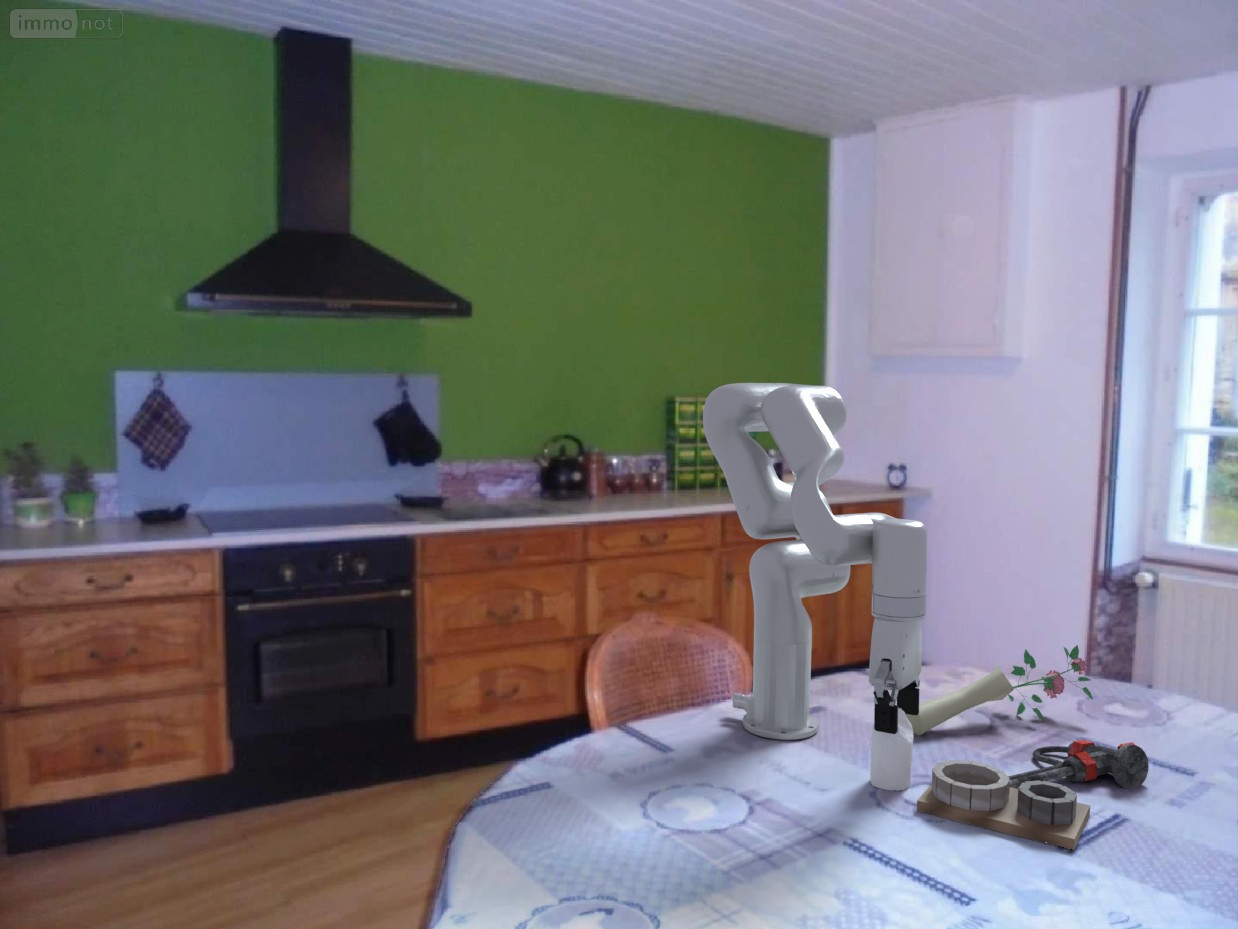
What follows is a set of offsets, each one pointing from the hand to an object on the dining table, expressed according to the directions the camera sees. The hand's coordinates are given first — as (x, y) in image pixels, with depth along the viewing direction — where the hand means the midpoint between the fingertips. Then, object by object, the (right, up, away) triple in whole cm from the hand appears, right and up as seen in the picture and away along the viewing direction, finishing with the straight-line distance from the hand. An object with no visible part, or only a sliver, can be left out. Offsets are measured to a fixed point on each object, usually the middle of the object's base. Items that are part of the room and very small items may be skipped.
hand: (897, 722), depth 147 cm
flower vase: (+24, -7, +28) cm, 38 cm away
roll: (-1, -10, +2) cm, 10 cm away
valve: (+26, -10, +6) cm, 29 cm away
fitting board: (+12, -10, -8) cm, 18 cm away
